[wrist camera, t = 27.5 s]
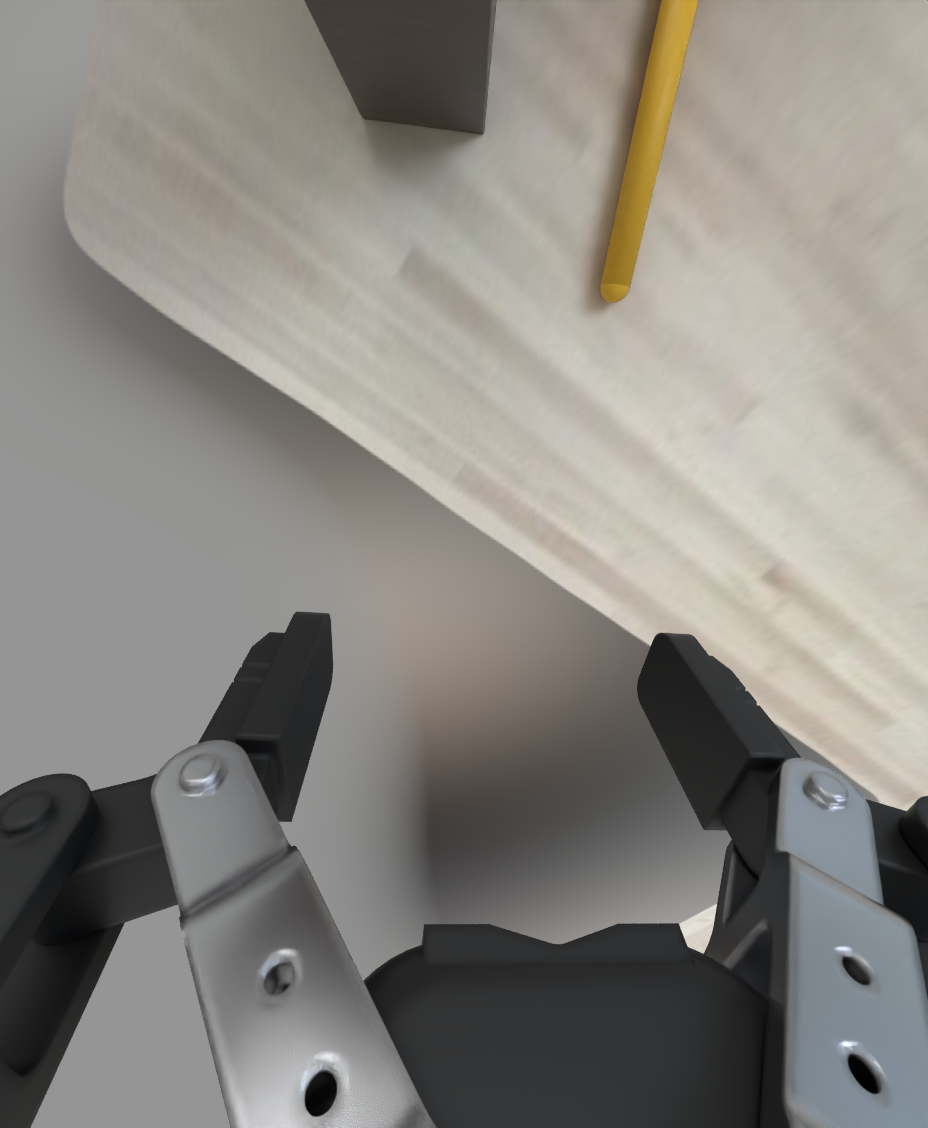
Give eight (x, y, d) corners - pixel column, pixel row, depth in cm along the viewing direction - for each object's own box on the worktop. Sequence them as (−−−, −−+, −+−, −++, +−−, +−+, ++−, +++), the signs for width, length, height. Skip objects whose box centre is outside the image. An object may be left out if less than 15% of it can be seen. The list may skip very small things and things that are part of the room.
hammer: (693, -312, 19) (713, -371, 18) (791, -294, 20) (820, -350, 18) (574, 299, 30) (580, 297, 28) (640, 307, 30) (650, 306, 28)
